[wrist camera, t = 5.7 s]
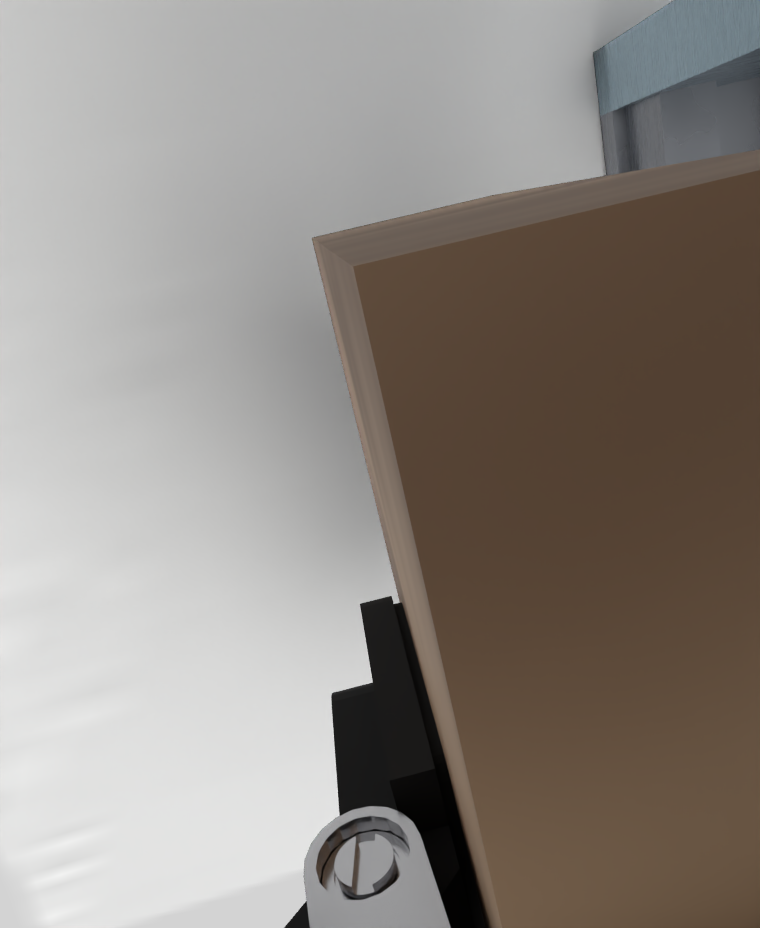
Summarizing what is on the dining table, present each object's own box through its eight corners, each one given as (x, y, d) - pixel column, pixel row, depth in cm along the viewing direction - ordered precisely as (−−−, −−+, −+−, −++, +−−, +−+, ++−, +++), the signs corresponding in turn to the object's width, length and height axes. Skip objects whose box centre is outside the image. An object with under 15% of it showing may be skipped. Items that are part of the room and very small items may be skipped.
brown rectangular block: (311, 238, 11) (351, 266, 3) (493, 194, 11) (1074, 94, 3) (465, 874, 16) (657, 1615, 7) (593, 840, 16) (927, 1533, 7)
